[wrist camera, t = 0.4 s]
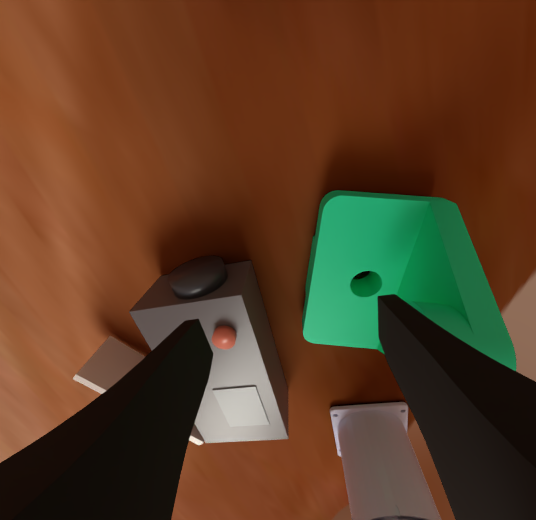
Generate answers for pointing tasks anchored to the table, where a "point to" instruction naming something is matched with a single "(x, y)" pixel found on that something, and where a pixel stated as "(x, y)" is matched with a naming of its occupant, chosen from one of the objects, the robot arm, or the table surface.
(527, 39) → the table surface
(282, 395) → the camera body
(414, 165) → the table surface
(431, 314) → the camera mount
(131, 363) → the side door
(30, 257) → the table surface
